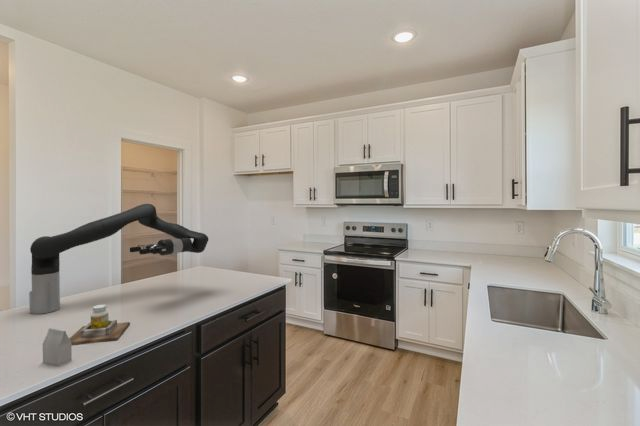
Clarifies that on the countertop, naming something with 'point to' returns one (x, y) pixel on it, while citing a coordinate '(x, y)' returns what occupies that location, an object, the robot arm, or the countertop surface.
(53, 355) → the grey gable-top carton
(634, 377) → the countertop surface
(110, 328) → the holder board
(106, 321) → the supplement bottle
